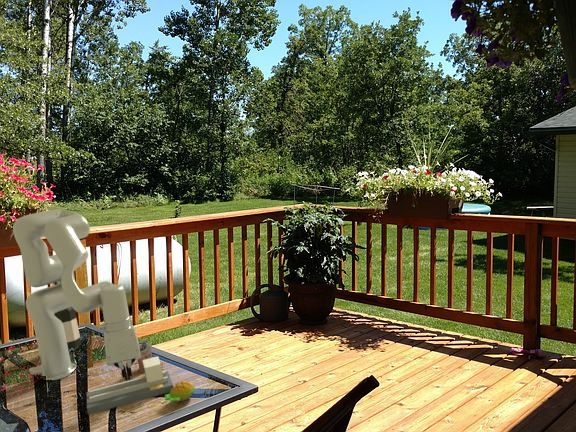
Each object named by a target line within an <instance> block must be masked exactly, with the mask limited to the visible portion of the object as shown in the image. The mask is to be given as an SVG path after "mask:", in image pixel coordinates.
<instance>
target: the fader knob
mask: <svg viewBox="0 0 576 432" xmlns="http://www.w3.org/2000/svg"><path fill="white" fill-rule="evenodd" d="M143 365H144V371H145V373H144V375H145V376H146V380H147V383H149V382H153V381H157V380H160V379H163V374H162V372H163V368H162V365H161V360H160V357H159V356H154V357H153V356H152V358H149V359H145V360H143Z"/></svg>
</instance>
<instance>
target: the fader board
mask: <svg viewBox="0 0 576 432" xmlns="http://www.w3.org/2000/svg"><path fill="white" fill-rule="evenodd" d="M162 374H163V379H160V380H157V381H153V382H149V383H147V380H146V376H141V377H137V378H134V379H131V380H127V381H125V380H124V381H121V382H118V383H115V384H111V385H108V386H103V387H99V388H96V389H92V390H88V391H87V392H86V410H87V411H86V412H87V415H92V414H95V413H98V412H102V411H106V410H111V409H114V408H117V407H122V406H124V405H128V404H131V403H135V402H138V401H143V400H145V399H150V398H153V397H156V396H159V395H161V396H162V395H164V394H167V393H168V394H169V393H170V392H171V390H172V388H173V387H174V384H173V380H172V378H171V376H170V373H169V370H162Z"/></svg>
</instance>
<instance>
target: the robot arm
mask: <svg viewBox="0 0 576 432" xmlns="http://www.w3.org/2000/svg"><path fill="white" fill-rule="evenodd" d="M12 227H13V228H12V230H13V231H12V232H13V236H14V239H15V241H16V244H18V248H19V250H20V253H21V258H22V259H21V260H22V263H23V268H24V269H23V271H24V273H25V278H26V279H25V280H26V282H27V284H28V285H29V287H31V288H41V287H45V286H47V285H48V287H45V288H42V289H39V290H36V291H34V292H32V293H30V294H29V295H28V296H27V298H26V300H25V308H26V310H27V312H28V315H29V316H30V319H31V323H32V327H33V329H34V333H35V338H36V343H37V347H38V353H39V357H40V363H41V364H39V365H38V366H35V367H30V368H28V369H29V370H28V372H29V374H30V375H37V374H39V375H40V374H42V376H47V377H46V379H48V380H52V381H57V380H61V379H63V378H66V377H68V376H70V375H72V374H73V373H74V372H73V371H74V370H75V369H76V367H77V364H76V363H74V362H72V361H71V357H70V356H71V355H70V352H69V351H68V346H67V341H66V336H65V331H64V326H63V323H62V322H61V320H59V319H58V318H57V317H56V316H55V315H54V314H55V313H57V312H59V311H61V310H64V309H67V308H69V307H71V306H72V307H73V309H74V310H75V313H79V314H87V313H90V312H92V311H95V310H97V309H100V308H101V309H102V314H103V321H104V322H103V323H102V324H100V325H99V327H100V330H104V332H103V342H104V350H105V357H106V366H107V367H116V368H118V369H119V370H120V371H121V375H122V379H124V382H125V381H129V380H132V379H131V377H133V372H132V366H133V364H134V363H135V362H136V361H138V359H140V358H141V357H142V356H141V353H140V348H139V339H138V335H137V332H136V329H135V327H134V325H133V324H131V319H130V317H131V316H130V313H129V306H128V301H127V295H126V294H127V293H126V290H125V286H123V285H121V284H114V283H113V282H110V281H100V282H98V283H96V284H91V285H89V286H86V287H83V288H79V287H78V285H77V283H76V279H75V271H76V270H77V269H78V268H79V267H81V266H82V265H83V264H84V263H85V262H86V261H87V259H88V258H89V252H88V250H87V249H86V247H85V246H84V245H83V243H82V241H81V240H80V239H84V238H87V237H88V236H89V234H90V231H91V229H90V224H89V221H87V218H86V217H84V216H83V215H82V214H80V213H78V212H74V211H71V210H68V209H65V208H56V209H55V208H54V209H50V210H46V211H41V212H36V213H35V212H34V213H31V214H26V215H24V216H21V217H19V218H17V219H16V220H15V221H14V223H13V226H12ZM44 237H45V238H46V240H47V242H48V243H49V245H50V247H51V249H52V250H53V252H54V253H55V254H53V255H50V254H49V248H48V246H47V243H46V242H45V241H44V240H43V239H42V238H44ZM54 282H57V285H54ZM50 284H53V285H51V286H49V285H50ZM124 362H126V364H124ZM76 370H77V369H76ZM76 370H75V371H76ZM72 372H73V373H72ZM71 373H72V374H71Z"/></svg>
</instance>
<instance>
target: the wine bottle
mask: <svg viewBox="0 0 576 432" xmlns="http://www.w3.org/2000/svg"><path fill="white" fill-rule="evenodd" d="M54 285H57V282H54V283H53V286H54ZM54 315H55V316H56V317H57V318H58V319H59V320H61V322H62V323H63V326H64V331H65V336H66V341H67V346H68V349H71V348H75V347H77V346H79V345H81V344H82V341H81V335H80V331H79V330H80V329H79V325H78V320H77V315H76V311H75V310H74V309H73V307H72V306H71V307H69V308H67V309H64V310H61V311H59V312H57V313H55V314H54Z"/></svg>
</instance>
